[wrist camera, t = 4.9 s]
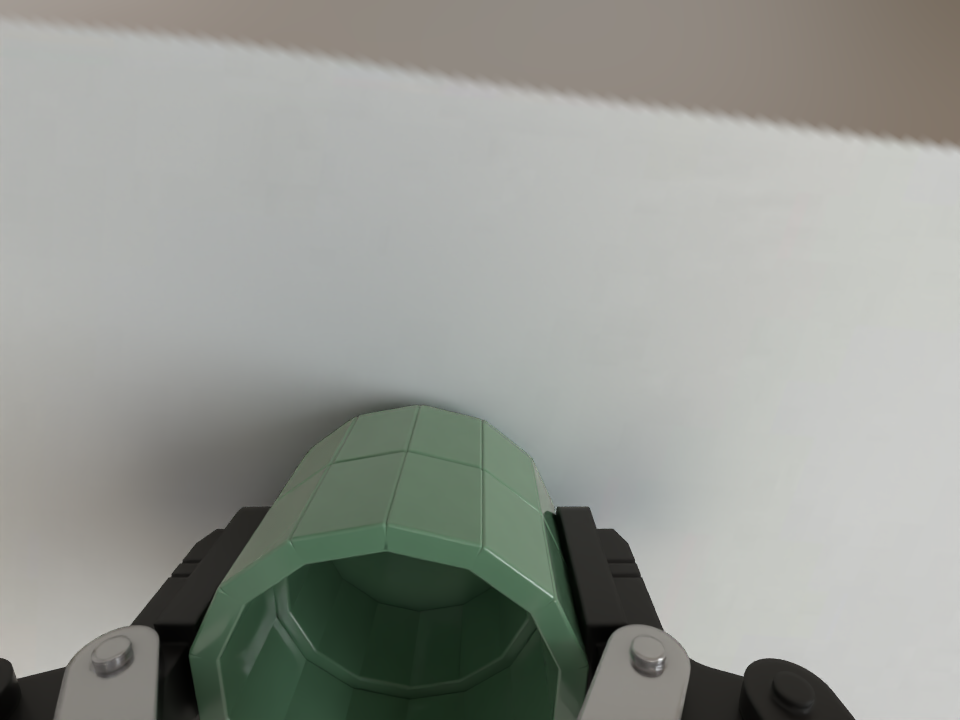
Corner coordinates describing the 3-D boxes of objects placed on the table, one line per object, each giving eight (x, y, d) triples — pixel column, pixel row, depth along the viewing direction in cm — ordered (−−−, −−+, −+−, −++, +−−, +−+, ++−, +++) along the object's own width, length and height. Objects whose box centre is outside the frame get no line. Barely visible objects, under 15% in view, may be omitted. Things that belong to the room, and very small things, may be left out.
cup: (257, 561, 14) (139, 756, 9) (358, 348, 12) (277, 454, 7) (475, 651, 15) (472, 871, 10) (599, 465, 13) (666, 628, 8)
